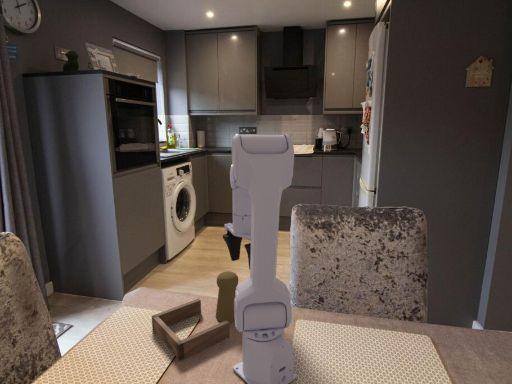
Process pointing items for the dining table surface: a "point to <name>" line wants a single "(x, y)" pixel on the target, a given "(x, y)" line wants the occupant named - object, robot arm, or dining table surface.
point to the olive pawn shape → (226, 296)
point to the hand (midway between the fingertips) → (244, 264)
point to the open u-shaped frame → (193, 342)
